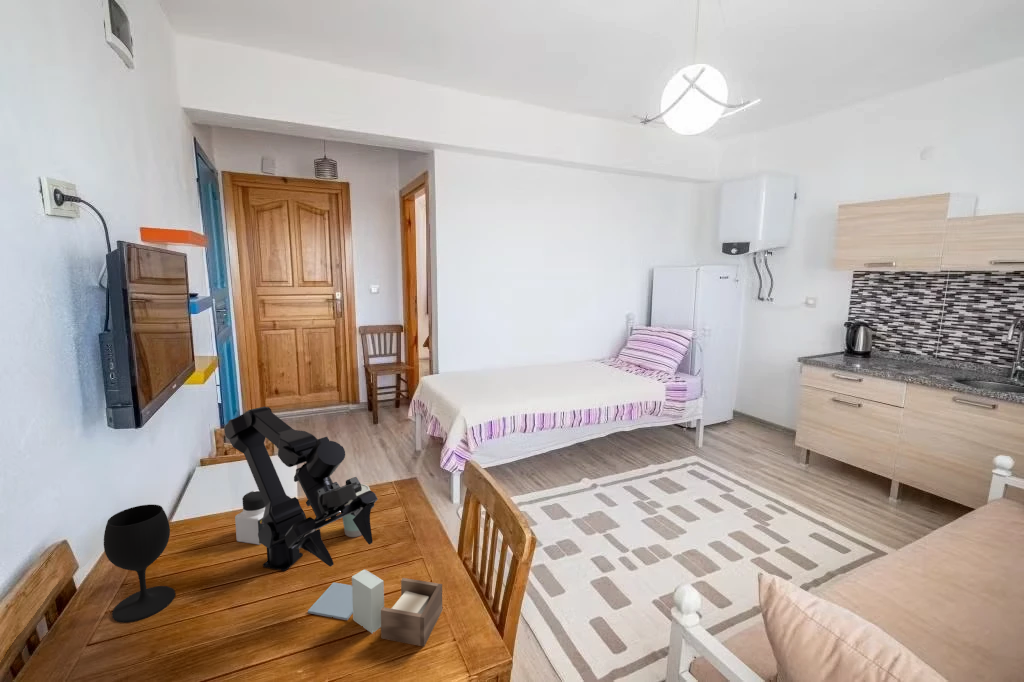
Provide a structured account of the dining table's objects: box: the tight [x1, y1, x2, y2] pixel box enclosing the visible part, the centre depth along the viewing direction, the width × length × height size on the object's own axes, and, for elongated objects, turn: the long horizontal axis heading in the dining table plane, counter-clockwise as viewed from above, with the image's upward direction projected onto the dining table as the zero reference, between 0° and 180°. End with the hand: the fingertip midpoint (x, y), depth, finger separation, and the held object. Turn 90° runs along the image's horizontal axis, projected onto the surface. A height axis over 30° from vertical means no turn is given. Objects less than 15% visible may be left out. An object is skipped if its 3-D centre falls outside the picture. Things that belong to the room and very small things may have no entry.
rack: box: [380, 577, 443, 647], centre depth 90 cm, size 9×10×6 cm
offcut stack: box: [391, 591, 429, 614], centre depth 90 cm, size 6×6×4 cm
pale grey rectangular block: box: [351, 569, 385, 634], centre depth 90 cm, size 6×3×10 cm, turn 55°
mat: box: [307, 582, 353, 621], centre depth 96 cm, size 9×9×1 cm
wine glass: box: [103, 504, 176, 624], centre depth 93 cm, size 10×10×20 cm
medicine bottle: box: [234, 489, 265, 545], centre depth 119 cm, size 7×7×12 cm
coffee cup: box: [341, 483, 372, 538], centre depth 122 cm, size 8×8×12 cm
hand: (352, 554), depth 91 cm, fingers open, 9 cm apart
